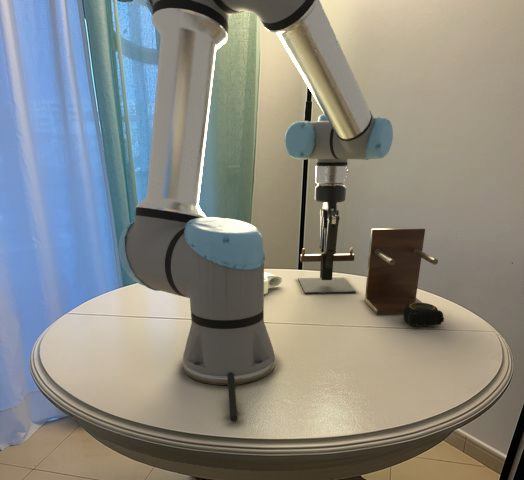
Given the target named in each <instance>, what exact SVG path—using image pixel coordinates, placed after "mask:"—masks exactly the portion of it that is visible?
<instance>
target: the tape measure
mask: <svg viewBox="0 0 524 480" xmlns="http://www.w3.org/2000/svg"><path fill="white" fill-rule="evenodd" d="M403 321H404V322H405V323H407V324H408V325H411V326H416V327H417V326H418V327H420V328H422V327H425V326H426V327H427V326H438V325H442V323H444V321H445V317H444V313H443V311H442V310H440V309H438V307H437V306H435V305H433V304H431V303H426V302H422V303H410V304H408V305H406V306H405V309H404V314H403Z"/></svg>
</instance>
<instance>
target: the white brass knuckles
mask: <svg viewBox="0 0 524 480" xmlns="http://www.w3.org/2000/svg"><path fill="white" fill-rule="evenodd" d="M282 282H283V278H282V277H281V276H279V275H277V274H272V273H269V272H266V271H264V295H267V294H268V293H269V289H274V288H276V287H277V286H280V285H281V284H282Z"/></svg>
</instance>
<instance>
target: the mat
mask: <svg viewBox="0 0 524 480" xmlns="http://www.w3.org/2000/svg"><path fill="white" fill-rule="evenodd" d="M297 280H298V283H299V285H300V286H301V288H302V291H303V293H304V294H305V295H313V294H314V295H317V294H321V295H322V294H356V293H357V291H356V290H355V288H354V287H353V286H352V285H351V284H350V283H349V282H348V281H347V280H346V278H345V277H332V280H321V278H320V277H305V278H297Z"/></svg>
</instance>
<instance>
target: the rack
mask: <svg viewBox="0 0 524 480" xmlns="http://www.w3.org/2000/svg"><path fill="white" fill-rule="evenodd" d="M425 234H426V228H424V227H417V228H415V227H413V228H412V227H410V228H409V227H408V228H406V227H405V228H404V227H403V228H398V227H397V228H371V229H370V237H369V238H370V239H369V250H368V259H367V261H368V262H367V273H366V283H365V284H366V285H365V295H364V302H365V303H366V304H367V305H368V307H369V308H370V309H371V310H372V311H373V312H374V314H375V315H404V309H405V306H406V305H408V304H410V303H423V302H422V301H421V300H420V299H418V297H417V294H418V293H417V292H418V286H419V279H420V273H421V272H420V270H421V263H422V259H423V260H425V261H426V262H428V263H430V264H432V265H434V266H435V265H437V264H438V263H439V259H437V258H436V257H434V256H432V255H430V254H427V253H426V252H424V251H423V250H424V249H423V248H424V241H425V236H426V235H425Z"/></svg>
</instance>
